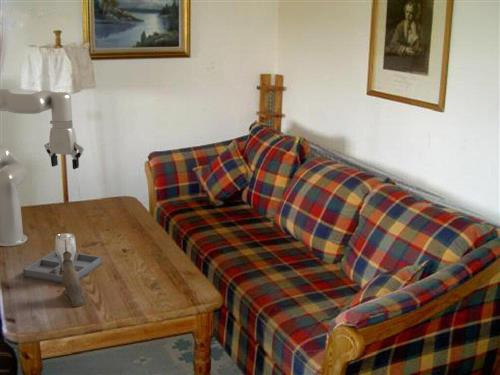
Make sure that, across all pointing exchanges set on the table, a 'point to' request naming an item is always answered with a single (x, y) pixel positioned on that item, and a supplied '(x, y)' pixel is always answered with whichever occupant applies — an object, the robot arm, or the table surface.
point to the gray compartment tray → (50, 267)
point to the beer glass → (65, 248)
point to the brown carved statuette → (71, 283)
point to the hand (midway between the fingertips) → (65, 167)
